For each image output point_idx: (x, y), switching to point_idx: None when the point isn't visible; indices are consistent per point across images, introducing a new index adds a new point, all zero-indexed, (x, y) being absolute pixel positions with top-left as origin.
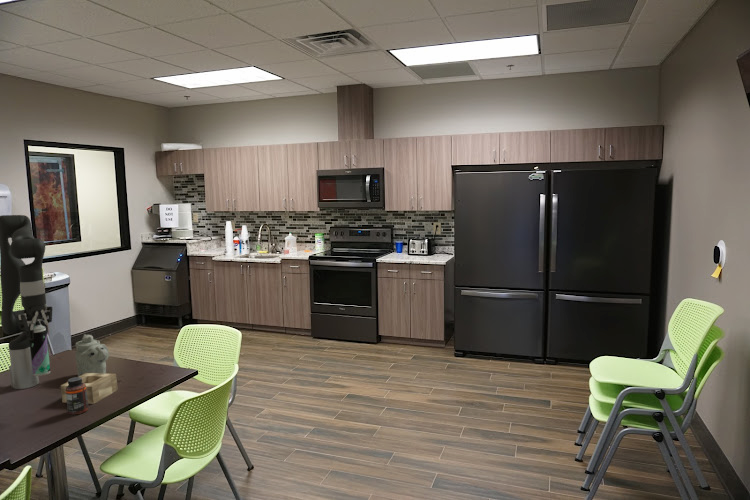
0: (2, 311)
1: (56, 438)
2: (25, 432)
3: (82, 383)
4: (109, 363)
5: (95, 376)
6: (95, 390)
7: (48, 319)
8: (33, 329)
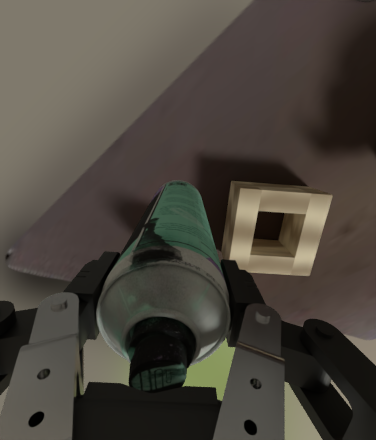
0: None
1: None
2: (93, 208)
3: None
4: None
5: (300, 236)
6: None
7: (303, 392)
8: (107, 331)
